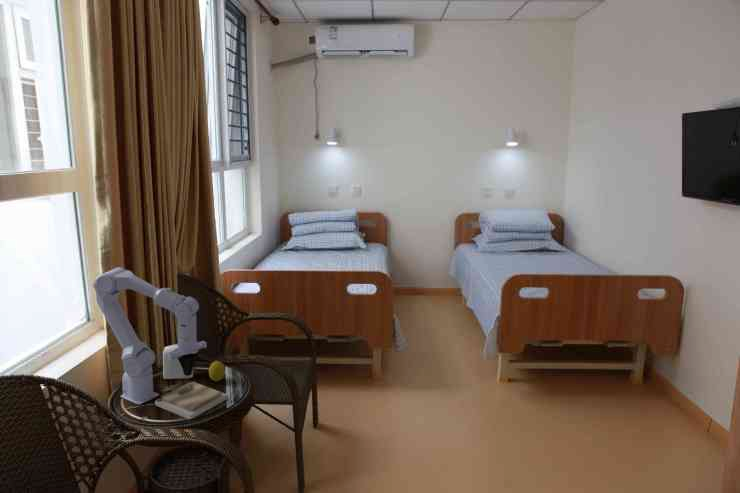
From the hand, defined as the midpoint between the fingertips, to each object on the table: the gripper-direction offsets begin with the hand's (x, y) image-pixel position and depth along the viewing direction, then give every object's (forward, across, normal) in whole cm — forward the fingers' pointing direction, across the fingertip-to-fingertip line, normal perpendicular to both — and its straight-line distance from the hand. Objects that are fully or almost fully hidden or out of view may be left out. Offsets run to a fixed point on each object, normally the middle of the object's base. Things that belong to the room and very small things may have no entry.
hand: (187, 374), depth 165 cm
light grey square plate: (+9, 0, -2) cm, 9 cm away
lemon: (+10, +15, +2) cm, 18 cm away
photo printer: (+10, +10, +16) cm, 21 cm away
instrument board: (+7, 0, -2) cm, 8 cm away
